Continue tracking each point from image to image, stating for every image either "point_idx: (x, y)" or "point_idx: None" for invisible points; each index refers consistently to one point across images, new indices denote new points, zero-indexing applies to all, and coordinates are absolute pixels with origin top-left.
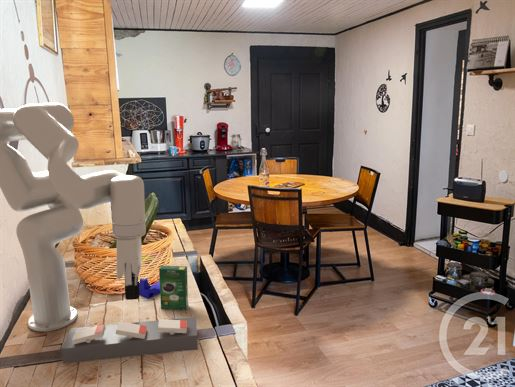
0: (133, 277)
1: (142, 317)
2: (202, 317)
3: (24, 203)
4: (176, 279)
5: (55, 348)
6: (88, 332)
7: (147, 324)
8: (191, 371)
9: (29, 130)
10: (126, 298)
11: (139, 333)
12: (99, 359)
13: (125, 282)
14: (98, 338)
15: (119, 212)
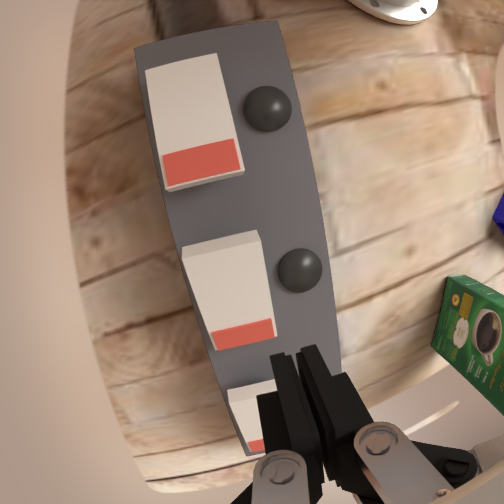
0: (367, 492)
1: (414, 232)
2: (388, 394)
3: None
4: (497, 373)
5: (230, 10)
6: (186, 116)
7: (313, 315)
8: (155, 427)
9: None
10: (272, 361)
11: (210, 334)
12: None
13: (254, 497)
14: None
15: None
